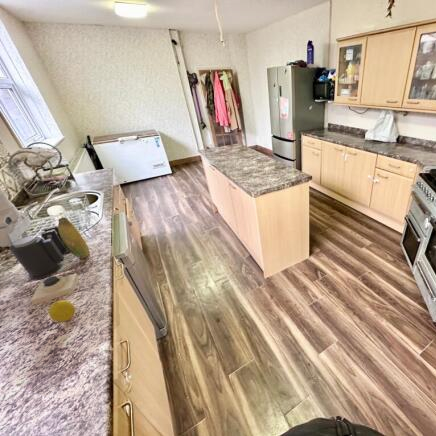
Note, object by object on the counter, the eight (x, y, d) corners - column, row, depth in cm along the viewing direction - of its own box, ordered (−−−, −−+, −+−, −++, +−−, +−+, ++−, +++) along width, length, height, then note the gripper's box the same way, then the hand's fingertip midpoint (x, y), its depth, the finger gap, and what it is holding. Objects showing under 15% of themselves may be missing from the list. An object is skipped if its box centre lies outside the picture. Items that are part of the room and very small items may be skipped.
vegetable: (95, 255, 104) (73, 216, 94) (79, 264, 99) (53, 224, 89) (89, 252, 107) (66, 213, 97) (73, 260, 102) (47, 220, 92)
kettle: (26, 284, 90) (-1, 251, 82) (35, 269, 97) (11, 238, 90) (65, 272, 95) (42, 241, 87) (71, 259, 102) (51, 229, 94)
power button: (44, 288, 82) (41, 284, 81) (47, 281, 85) (45, 278, 84) (57, 284, 84) (54, 280, 83) (60, 278, 86) (57, 274, 86)
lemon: (53, 325, 73) (38, 308, 69) (71, 311, 77) (58, 294, 73) (66, 329, 71) (52, 311, 67) (84, 314, 76) (71, 296, 72)
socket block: (34, 304, 80) (27, 296, 78) (42, 288, 87) (36, 280, 85) (73, 292, 85) (68, 284, 83) (79, 277, 92) (73, 269, 90)
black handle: (43, 261, 102) (26, 239, 96) (49, 250, 109) (34, 229, 103) (77, 252, 107) (63, 230, 101) (81, 242, 114) (68, 221, 108)
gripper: (4, 208, 100) (24, 235, 107) (-22, 229, 84) (3, 259, 91) (24, 204, 103) (42, 231, 109) (2, 224, 87) (25, 253, 94)
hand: (24, 244), depth 100 cm, fingers closed on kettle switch, 5 cm apart
